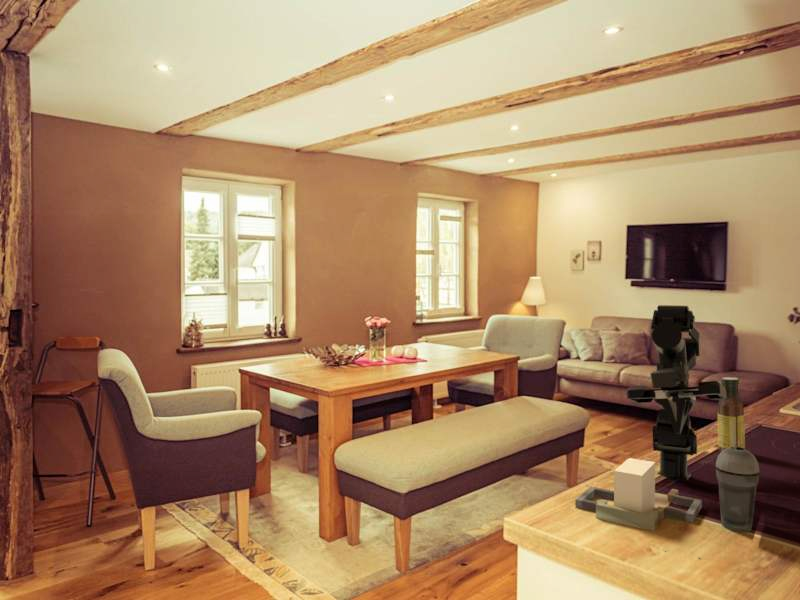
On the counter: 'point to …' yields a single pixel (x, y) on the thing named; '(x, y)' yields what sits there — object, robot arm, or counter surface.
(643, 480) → the cream block
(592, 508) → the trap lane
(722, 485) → the beverage cup
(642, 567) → the counter surface
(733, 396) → the sauce bottle
